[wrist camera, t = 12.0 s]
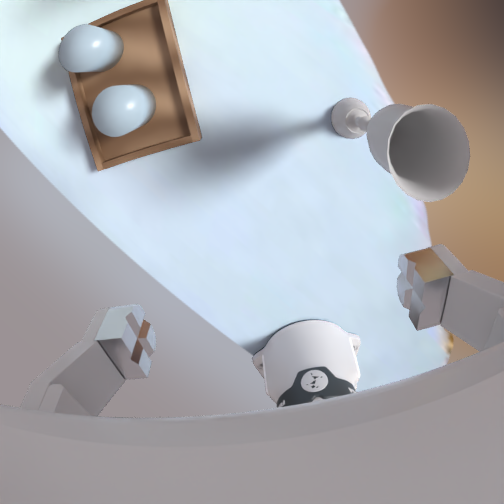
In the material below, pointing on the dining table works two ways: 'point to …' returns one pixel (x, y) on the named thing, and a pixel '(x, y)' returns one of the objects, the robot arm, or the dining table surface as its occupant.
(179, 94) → the tray
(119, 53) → the white rounded capsule
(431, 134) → the chalice
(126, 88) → the grey rounded piece
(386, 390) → the robot arm
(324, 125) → the dining table surface
